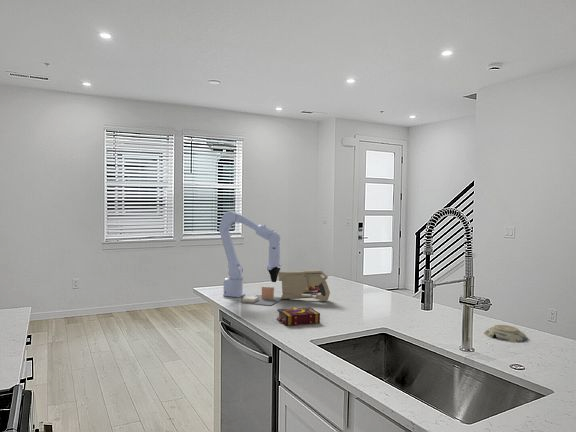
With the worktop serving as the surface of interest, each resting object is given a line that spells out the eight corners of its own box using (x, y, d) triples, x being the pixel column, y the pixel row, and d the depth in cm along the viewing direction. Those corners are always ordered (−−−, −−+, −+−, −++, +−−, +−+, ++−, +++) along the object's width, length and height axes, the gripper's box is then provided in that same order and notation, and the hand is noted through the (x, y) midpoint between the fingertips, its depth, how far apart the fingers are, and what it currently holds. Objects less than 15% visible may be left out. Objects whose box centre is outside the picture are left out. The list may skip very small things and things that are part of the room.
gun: (330, 300, 224) (328, 269, 223) (330, 301, 221) (328, 270, 220) (280, 301, 226) (279, 271, 226) (279, 303, 223) (278, 272, 223)
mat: (242, 303, 215) (242, 302, 215) (257, 295, 232) (257, 294, 232) (270, 306, 210) (270, 305, 210) (284, 298, 227) (284, 297, 227)
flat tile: (253, 302, 215) (253, 299, 215) (242, 301, 217) (242, 298, 217) (258, 300, 220) (258, 296, 220) (247, 298, 222) (247, 295, 222)
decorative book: (320, 324, 182) (320, 311, 182) (283, 327, 177) (283, 314, 177) (309, 316, 193) (310, 305, 193) (274, 319, 187) (274, 308, 187)
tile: (261, 298, 224) (261, 286, 224) (262, 297, 225) (263, 286, 225) (272, 299, 222) (272, 287, 222) (273, 299, 223) (274, 287, 223)
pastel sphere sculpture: (326, 294, 240) (326, 277, 239) (282, 293, 240) (283, 276, 240) (323, 285, 265) (323, 270, 264) (283, 284, 265) (284, 269, 265)
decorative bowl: (531, 336, 170) (490, 328, 180) (532, 327, 170) (490, 319, 180) (522, 346, 159) (479, 337, 168) (523, 336, 159) (479, 327, 168)
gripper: (276, 257, 222) (276, 284, 223) (286, 254, 236) (285, 280, 236) (263, 257, 225) (263, 283, 225) (273, 253, 238) (273, 279, 239)
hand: (273, 281), depth 231 cm, fingers closed
